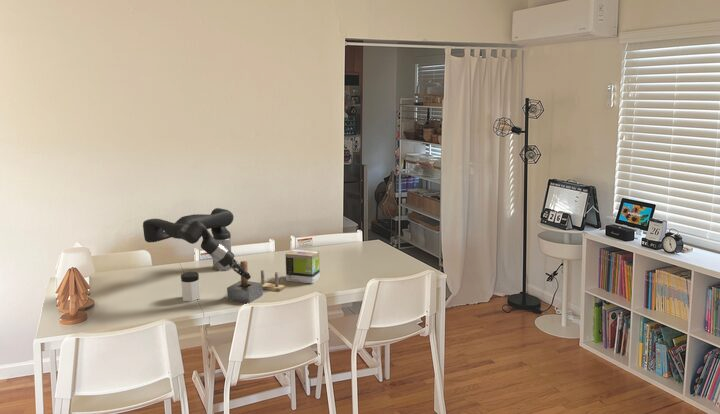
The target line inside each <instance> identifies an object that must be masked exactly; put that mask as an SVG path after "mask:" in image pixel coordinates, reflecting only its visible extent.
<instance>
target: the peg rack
mask: <svg viewBox="0 0 720 414" xmlns="http://www.w3.org/2000/svg"><path fill="white" fill-rule="evenodd" d="M260 279H261V280H260V281H259V283H263V290H265V291H266V290H267V291H273V292H281V291H283V290H285V289H286V286H285V285H282V284H279V283H280V282H279V272H278V271H277V272H274V280H275V281H274V283H269V282H265V281H266V280H265V270H263V269H262V270H260Z"/></svg>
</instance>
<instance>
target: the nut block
mask: <svg viewBox="0 0 720 414" xmlns="http://www.w3.org/2000/svg"><path fill="white" fill-rule="evenodd" d="M226 294H227V295H226V296H227V301H231V300H232V301H233V302H237V301H238V302H237V303H243V304H248V303H247V302H251V303H253V302H255V300H257V299H259V298H261V297H262V296H264V289H263V283H260V282H255V281H249V280H248V287H247V288H245V287H241V280H238V281H237V282H236V283H233V284H232V285H229V286H227V287H226Z"/></svg>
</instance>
